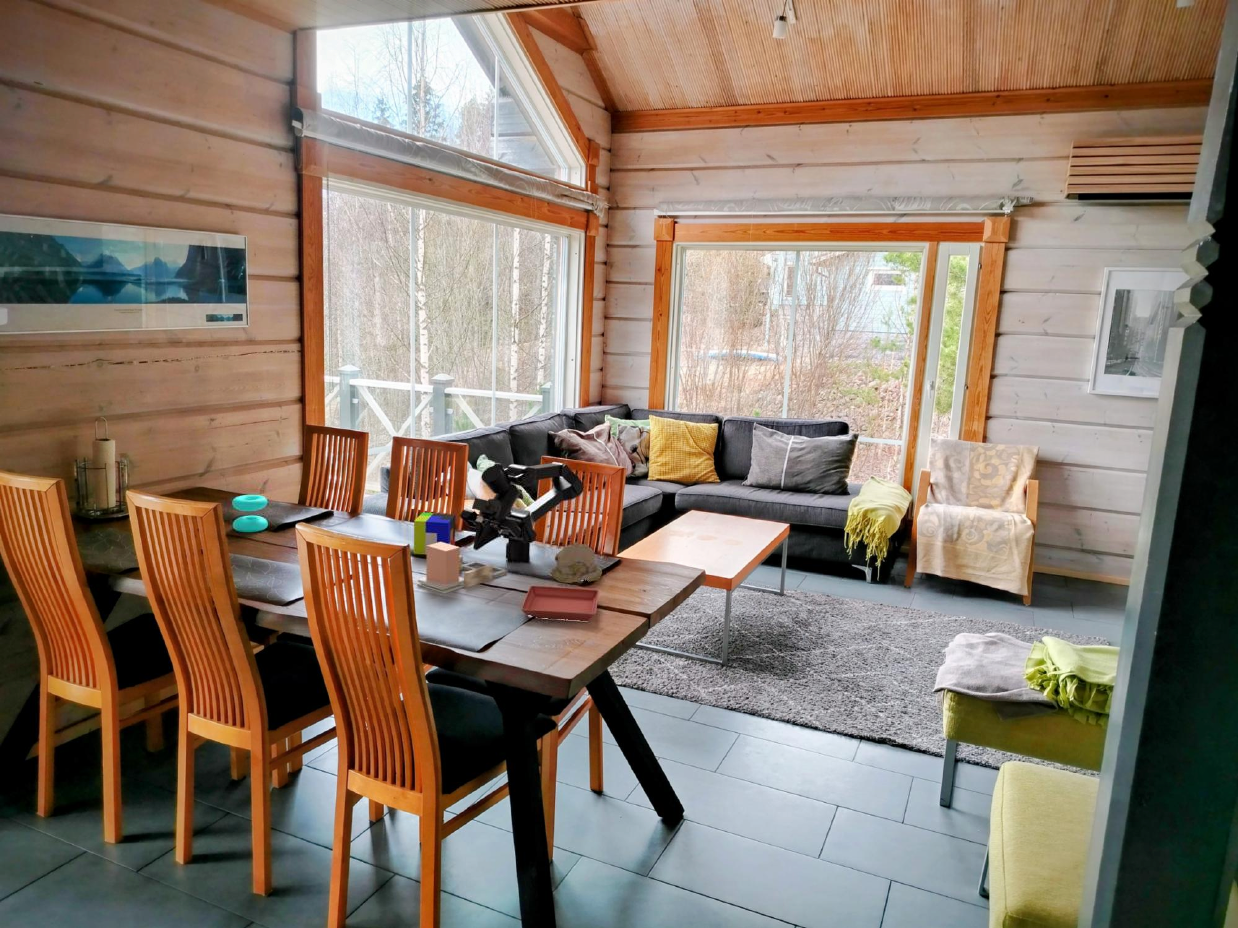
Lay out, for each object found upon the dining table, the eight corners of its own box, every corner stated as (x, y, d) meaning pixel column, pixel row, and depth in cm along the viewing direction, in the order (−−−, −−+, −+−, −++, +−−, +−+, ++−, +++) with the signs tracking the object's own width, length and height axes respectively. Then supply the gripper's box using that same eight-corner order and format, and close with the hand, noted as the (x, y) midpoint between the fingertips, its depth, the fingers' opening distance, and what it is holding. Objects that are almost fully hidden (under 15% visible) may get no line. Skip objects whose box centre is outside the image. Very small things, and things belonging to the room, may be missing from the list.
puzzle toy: (447, 555, 256) (448, 523, 254) (413, 553, 256) (414, 520, 254) (454, 546, 266) (455, 514, 264) (422, 544, 266) (422, 512, 264)
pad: (436, 578, 235) (436, 576, 235) (463, 586, 230) (463, 585, 230) (417, 584, 230) (417, 583, 230) (444, 593, 224) (444, 591, 224)
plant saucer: (529, 596, 227) (530, 584, 226) (598, 601, 227) (599, 588, 226) (519, 621, 209) (520, 608, 209) (594, 626, 209) (595, 613, 208)
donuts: (254, 492, 276) (274, 497, 270) (255, 522, 278) (274, 528, 272) (225, 497, 267) (245, 503, 262) (226, 528, 269) (245, 535, 264)
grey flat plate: (475, 564, 249) (475, 560, 249) (507, 573, 243) (507, 570, 243) (460, 568, 244) (460, 565, 244) (492, 578, 238) (492, 575, 238)
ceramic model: (554, 584, 237) (556, 548, 235) (545, 571, 247) (547, 537, 245) (604, 582, 241) (606, 547, 239) (593, 569, 252) (595, 535, 250)
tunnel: (459, 569, 244) (460, 555, 243) (492, 578, 238) (492, 564, 237) (433, 577, 236) (433, 563, 235) (466, 587, 229) (466, 573, 229)
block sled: (442, 574, 237) (443, 539, 235) (467, 581, 232) (467, 546, 230) (417, 582, 229) (418, 546, 227) (442, 590, 224) (443, 553, 222)
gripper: (464, 481, 245) (435, 526, 238) (515, 492, 235) (486, 540, 228) (483, 503, 253) (455, 547, 246) (533, 515, 243) (505, 562, 236)
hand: (474, 549), depth 239 cm, fingers closed
